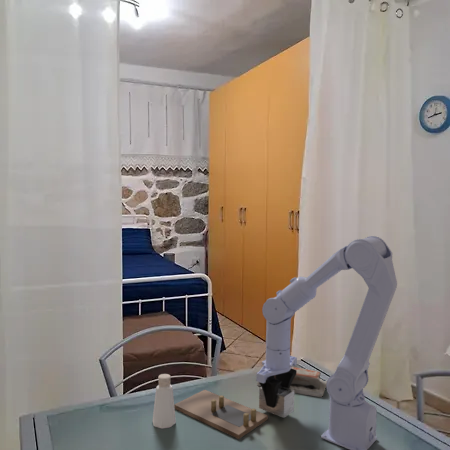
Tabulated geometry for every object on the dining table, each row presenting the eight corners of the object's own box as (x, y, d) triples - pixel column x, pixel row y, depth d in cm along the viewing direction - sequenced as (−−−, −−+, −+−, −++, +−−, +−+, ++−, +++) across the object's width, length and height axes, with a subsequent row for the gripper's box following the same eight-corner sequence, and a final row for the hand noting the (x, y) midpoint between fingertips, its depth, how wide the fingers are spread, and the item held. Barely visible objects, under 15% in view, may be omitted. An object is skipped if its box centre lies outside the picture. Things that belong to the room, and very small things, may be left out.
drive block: (293, 410, 104) (294, 390, 104) (283, 417, 101) (284, 396, 101) (269, 401, 109) (269, 381, 108) (259, 408, 105) (259, 387, 105)
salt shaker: (180, 423, 100) (181, 376, 99) (160, 431, 96) (160, 383, 96) (167, 414, 104) (167, 369, 103) (147, 421, 100) (147, 375, 100)
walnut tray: (267, 419, 102) (268, 405, 102) (238, 439, 94) (239, 423, 94) (204, 393, 115) (204, 380, 115) (174, 408, 107) (174, 394, 106)
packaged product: (256, 370, 120) (266, 357, 129) (256, 387, 120) (265, 373, 129) (323, 381, 114) (328, 367, 123) (322, 399, 114) (327, 384, 123)
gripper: (280, 335, 112) (279, 387, 113) (246, 350, 101) (244, 407, 102) (304, 342, 107) (303, 395, 108) (271, 358, 96) (270, 418, 97)
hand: (276, 402), depth 105 cm, fingers closed on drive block, 4 cm apart
